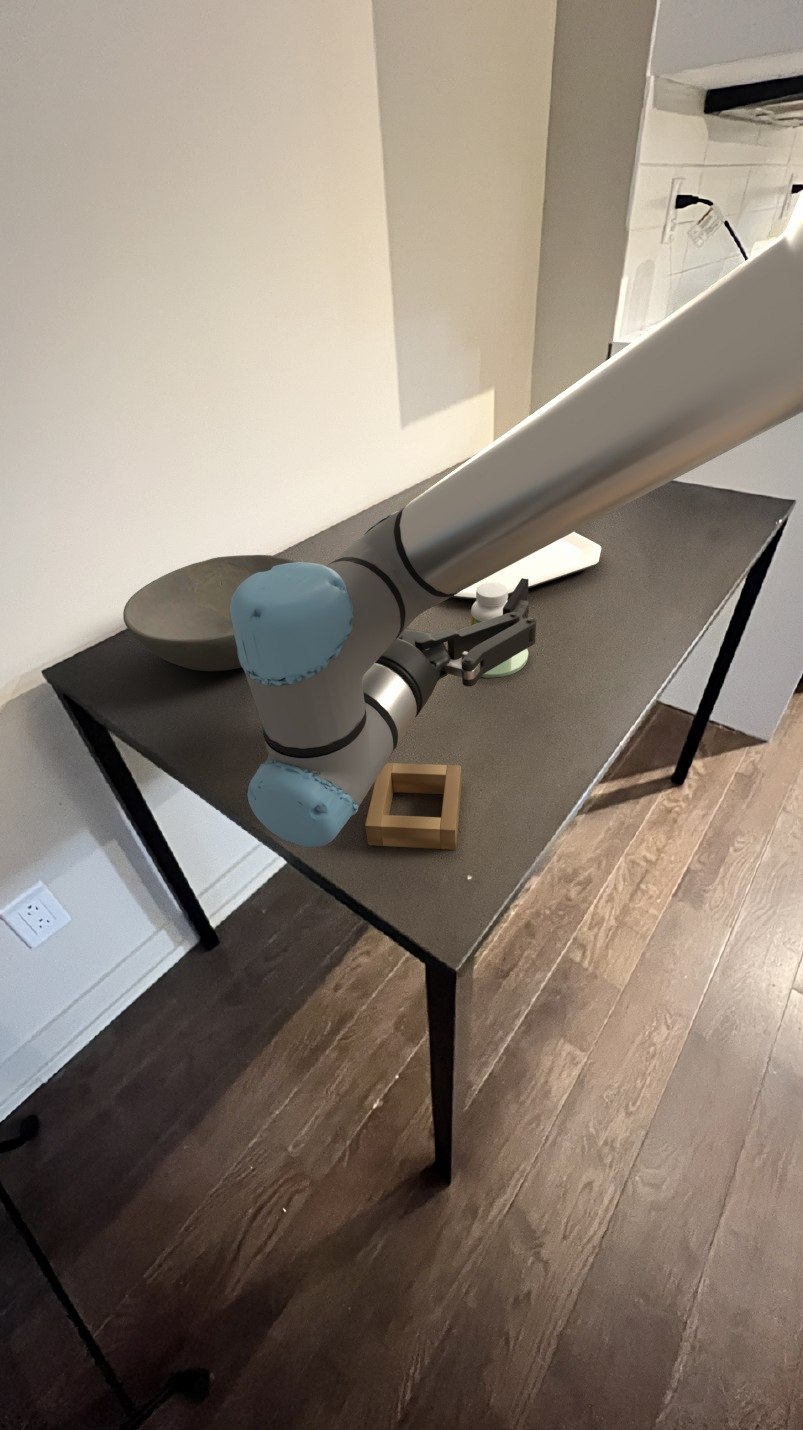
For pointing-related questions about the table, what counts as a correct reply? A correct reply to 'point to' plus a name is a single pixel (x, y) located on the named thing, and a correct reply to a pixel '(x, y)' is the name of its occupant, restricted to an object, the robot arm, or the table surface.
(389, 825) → the holder
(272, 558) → the bowl
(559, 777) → the table surface
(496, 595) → the supplement bottle
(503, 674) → the coaster
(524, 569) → the plate
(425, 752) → the table surface
